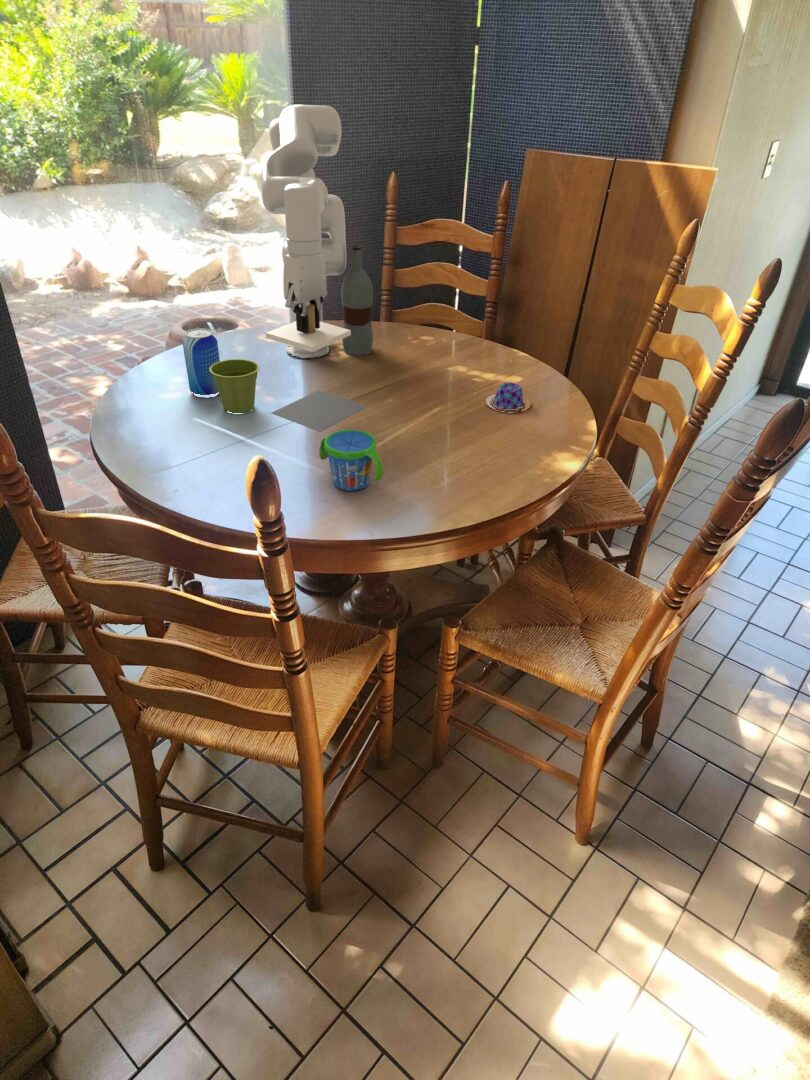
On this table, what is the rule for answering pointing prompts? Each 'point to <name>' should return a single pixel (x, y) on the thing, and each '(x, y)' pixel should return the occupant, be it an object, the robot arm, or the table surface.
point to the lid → (309, 333)
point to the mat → (319, 410)
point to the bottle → (357, 307)
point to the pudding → (507, 396)
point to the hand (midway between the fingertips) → (308, 328)
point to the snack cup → (351, 458)
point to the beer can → (201, 360)
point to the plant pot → (236, 383)
